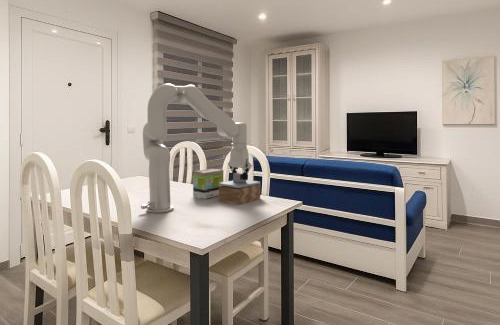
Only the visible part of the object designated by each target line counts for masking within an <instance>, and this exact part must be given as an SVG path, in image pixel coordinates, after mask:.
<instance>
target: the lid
mask: <svg viewBox="0 0 500 325" xmlns="http://www.w3.org/2000/svg"><path fill="white" fill-rule="evenodd" d="M256 184H260V185H261V181H257V180H251V179H247V180H246V183H241V184H240V183H233V180H228V181H227V180H226V181H223V182H222V183H219V185H223V186H229V187H234V188H242V187H247V186H251V185H256Z"/></svg>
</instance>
